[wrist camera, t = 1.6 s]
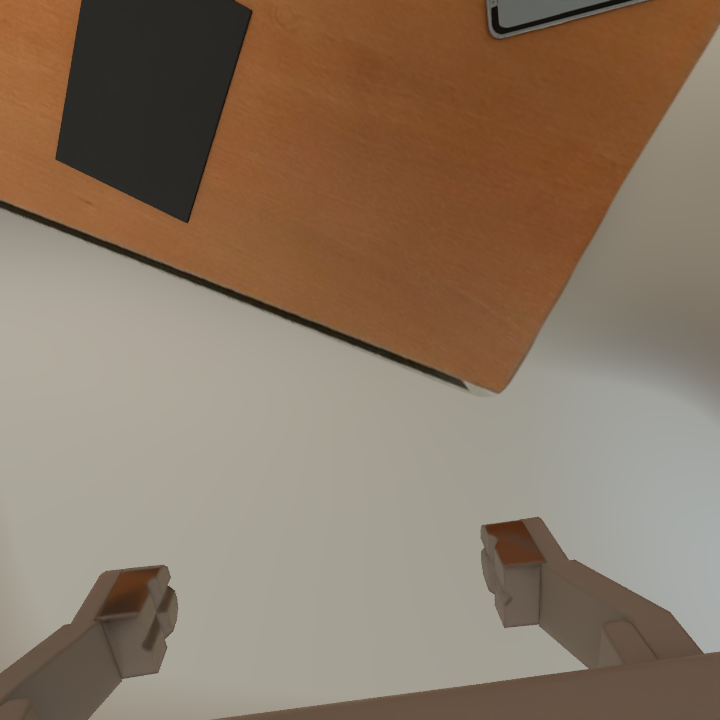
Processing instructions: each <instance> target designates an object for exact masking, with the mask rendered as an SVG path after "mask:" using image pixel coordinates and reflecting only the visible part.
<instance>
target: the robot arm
mask: <svg viewBox="0 0 720 720" xmlns="http://www.w3.org/2000/svg"><path fill="white" fill-rule="evenodd" d="M481 540H482V542H483V544H484V549H483V550H482V551H481V561H482V568H483V574H484V577H485V581H486V584H487V586H488V589H489V591H490V592H492V593H493V594H495V606H496V609H497V611H498V614H499V616H500V619H501V621H502V623H503V626H504V628H507V627H517V626H527V625H537V624H539V626H540V627H541V628H542V629H543V630H545V631H546V632H547V633H548V634H549V635H550V636H551V637H553V638H554V639H555V640H556V641H557V642H558V643H560V644H561V645H562V646H563V647H564V648H565V649H567V650H568V651H569V652H570V653H571V654H572V655H574V656H575V657H576V658H577V659H579V661H581V662H582V663H583V664H584V665H585V666H586V667H588V668H589V669H587V670H580V671H572V672H564V673H557V674H550V675H542V676H535V677H527V678H520V679H512V680H506V681H498V682H491V683H483V684H476V685H469V686H461V687H453V688H446V689H438V690H431V691H423V692H416V693H408V694H400V695H392V696H385V697H377V698H369V699H362V700H355V701H347V702H340V703H333V704H325V705H318V706H310V707H302V708H295V709H287V710H280V711H273V712H265V713H258V714H250V715H243V716H236V717H228V718H220V719H213V720H720V652H714V653H707V654H704V653H703V652H702V651H701V650H700V648H699V647H698V646H697V645H696V643H695V642H694V641H693V640H692V638H691V637H690V636H689V635H688V633H687V632H686V631H685V630H684V629H683V627H682V626H681V625H680V624H679V623H678V621H677V620H676V619H675V618H674V616H673V615H672V614H671V613H670V612H669V611H667V610H665V609H664V608H662V607H660V606H658V605H656V604H654V603H653V602H651V601H649V600H647V599H645V598H643V597H642V596H640V595H638V594H636V593H634V592H632V591H631V590H628V589H627V588H625V587H623V586H622V585H620V584H618V583H616V582H614V581H613V580H610V579H609V578H607V577H605V576H603V575H602V574H600V573H598V572H596V571H594V570H592V569H590V568H589V567H587V566H585V565H583V564H582V563H580V562H578V561H576V560H569V559H568V558H567V556H566V555H565V553H564V552H563V551H562V549H561V548H560V546H559V544H558V543H557V541H556V540H555V539H554V537H553V536H552V534H551V532H550V531H549V530H548V528H547V527H546V525H545V524H544V522H543V521H542V519H541V518H539V517H534V518H528V519H521V520H517V521H509V522H502V523H495V524H487V525H482V526H481ZM170 578H171V576H170V573H169V570H168V567H167V566H165V565H157V566H147V567H137V568H128V569H121V570H111V571H105V572H104V573H102V574H101V575H100V576H99V578H98V580H97V581H96V583H95V585H94V587H93V588H92V590H91V591H90V593H89V595H88V596H87V598H86V599H85V601H84V603H83V604H82V606H81V608H80V610H79V611H78V613H77V614H76V616H75V618H74V619H73V621H72V623H71V624H68V625H64V626H62V627H61V628H60V629H58V630H57V631H56V632H54V633H53V634H52V635H51V636H49V637H48V638H47V639H45V640H44V641H43V642H41V643H40V644H39V645H37V646H36V647H35V648H33V649H32V650H31V651H29V652H28V653H27V654H26V655H24V656H23V657H21V658H20V659H19V660H17V661H16V662H15V663H14V664H12V665H11V666H10V667H9V668H7V669H6V670H4V671H3V672H2V673H0V720H88V719H89V718H90V716H91V715H92V714H93V713H94V712H95V711H96V710H97V708H98V707H99V706H100V705H101V704H102V703H103V702H104V700H105V699H106V698H107V697H108V696H109V695H110V694H111V693H112V692H113V690H114V689H115V688H116V687H117V686H118V685H119V684H120V682H121V681H122V680H121V679H124V678H130V677H136V676H143V675H148V674H155V673H158V672H159V669H160V666H161V663H162V660H163V658H164V655H165V652H166V650H167V645H166V642H165V639H166V638H167V637H168V636H169V634H171V633H172V632H173V630H174V627H175V624H176V621H177V612H178V603H177V596H176V593H175V591H174V590H173V589H172V588H171V587H169V586H168V583H169V580H170Z"/></svg>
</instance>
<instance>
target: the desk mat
mask: <svg viewBox="0 0 720 720" xmlns="http://www.w3.org/2000/svg"><path fill="white" fill-rule="evenodd" d="M251 14H252V11H251V10H250V9H248V8H246V7H244V6H243V5H241V4H239V3H237V2H235V1H234V0H82V2H81V8H80V14H79V20H78V26H77V32H76V38H75V44H74V50H73V56H72V62H71V68H70V74H69V80H68V86H67V92H66V98H65V104H64V110H63V116H62V122H61V128H60V134H59V140H58V146H57V152H56V158H55V159H56V160H58V161H60V162H62V163H64V164H66V165H68V166H70V167H72V168H74V169H76V170H79V171H81V172H83V173H85V174H87V175H89V176H91V177H93V178H95V179H97V180H99V181H101V182H103V183H105V184H107V185H109V186H111V187H114V188H116V189H118V190H120V191H122V192H124V193H126V194H128V195H130V196H132V197H134V198H136V199H138V200H140V201H142V202H144V203H146V204H149V205H151V206H153V207H155V208H157V209H159V210H161V211H163V212H165V213H167V214H169V215H171V216H173V217H175V218H177V219H179V220H181V221H184V222H186V223H188V221H189V218H190V214H191V211H192V208H193V204H194V201H195V198H196V195H197V191H198V188H199V185H200V181H201V178H202V175H203V172H204V168H205V165H206V162H207V158H208V155H209V152H210V149H211V145H212V142H213V139H214V136H215V132H216V129H217V126H218V122H219V119H220V116H221V113H222V109H223V106H224V103H225V99H226V96H227V93H228V90H229V86H230V83H231V80H232V76H233V73H234V70H235V67H236V63H237V60H238V57H239V53H240V50H241V47H242V44H243V40H244V37H245V34H246V30H247V27H248V24H249V21H250V17H251Z"/></svg>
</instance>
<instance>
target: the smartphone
mask: <svg viewBox="0 0 720 720" xmlns="http://www.w3.org/2000/svg"><path fill="white" fill-rule="evenodd" d="M645 1H648V0H486V7H487V18H488V28H489V32H490V34H491V35H492V36H493V37H494V38H497V39H503V38H506V37H510V36H514V35H518V34H522V33H526V32H529V31H533V30H539V29H543V28H546V27H549V26H554V25H558V24H562V23H564V22H568V21H572V20H576V19H579V18H583V17H587V16H591V15H595V14H599V13H602V12H606V11H610V10H614V9H618V8H622V7H625V6H629V5H633V4H637V3H641V2H645Z"/></svg>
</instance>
